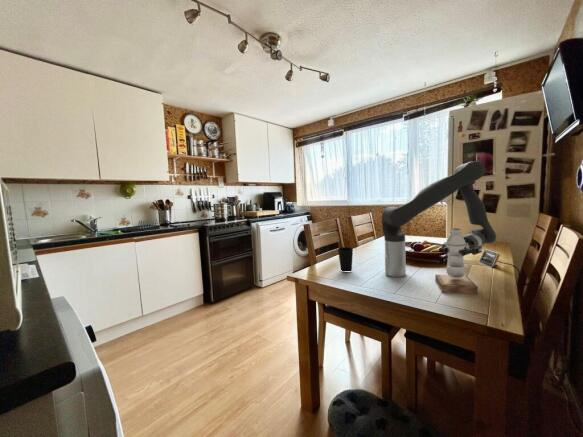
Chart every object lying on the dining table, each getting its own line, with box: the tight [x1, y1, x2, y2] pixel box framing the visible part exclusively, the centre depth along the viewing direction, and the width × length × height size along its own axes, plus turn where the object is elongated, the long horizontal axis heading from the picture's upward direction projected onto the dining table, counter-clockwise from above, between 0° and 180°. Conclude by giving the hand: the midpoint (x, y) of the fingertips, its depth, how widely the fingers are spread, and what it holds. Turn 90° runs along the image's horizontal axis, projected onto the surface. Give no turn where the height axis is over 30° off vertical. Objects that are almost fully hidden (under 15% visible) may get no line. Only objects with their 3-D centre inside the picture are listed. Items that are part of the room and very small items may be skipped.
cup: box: [337, 246, 354, 271], centre depth 133 cm, size 8×8×12 cm
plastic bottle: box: [445, 228, 466, 277], centre depth 103 cm, size 6×7×20 cm
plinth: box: [434, 274, 479, 295], centre depth 105 cm, size 12×12×3 cm
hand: (453, 252), depth 102 cm, fingers closed on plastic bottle, 6 cm apart
